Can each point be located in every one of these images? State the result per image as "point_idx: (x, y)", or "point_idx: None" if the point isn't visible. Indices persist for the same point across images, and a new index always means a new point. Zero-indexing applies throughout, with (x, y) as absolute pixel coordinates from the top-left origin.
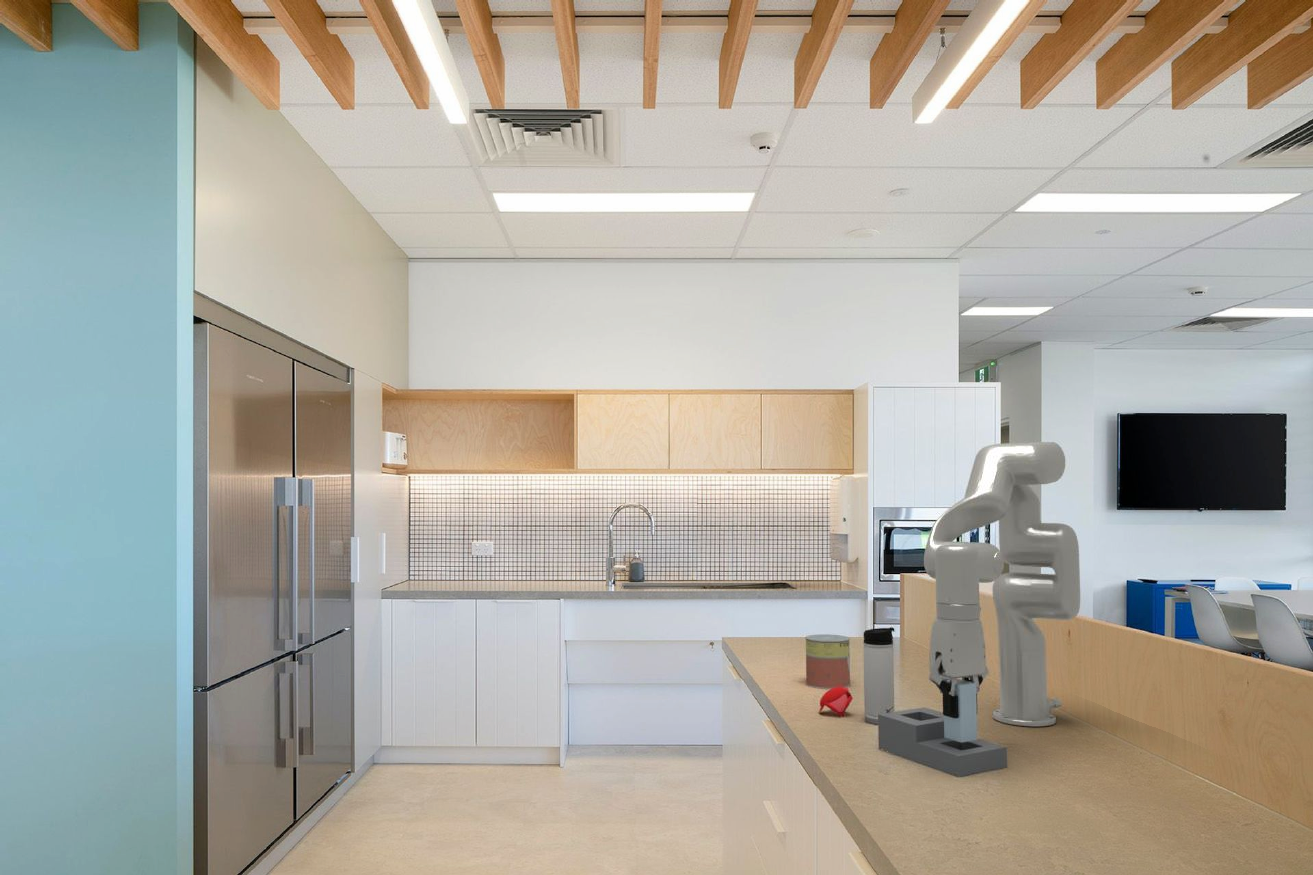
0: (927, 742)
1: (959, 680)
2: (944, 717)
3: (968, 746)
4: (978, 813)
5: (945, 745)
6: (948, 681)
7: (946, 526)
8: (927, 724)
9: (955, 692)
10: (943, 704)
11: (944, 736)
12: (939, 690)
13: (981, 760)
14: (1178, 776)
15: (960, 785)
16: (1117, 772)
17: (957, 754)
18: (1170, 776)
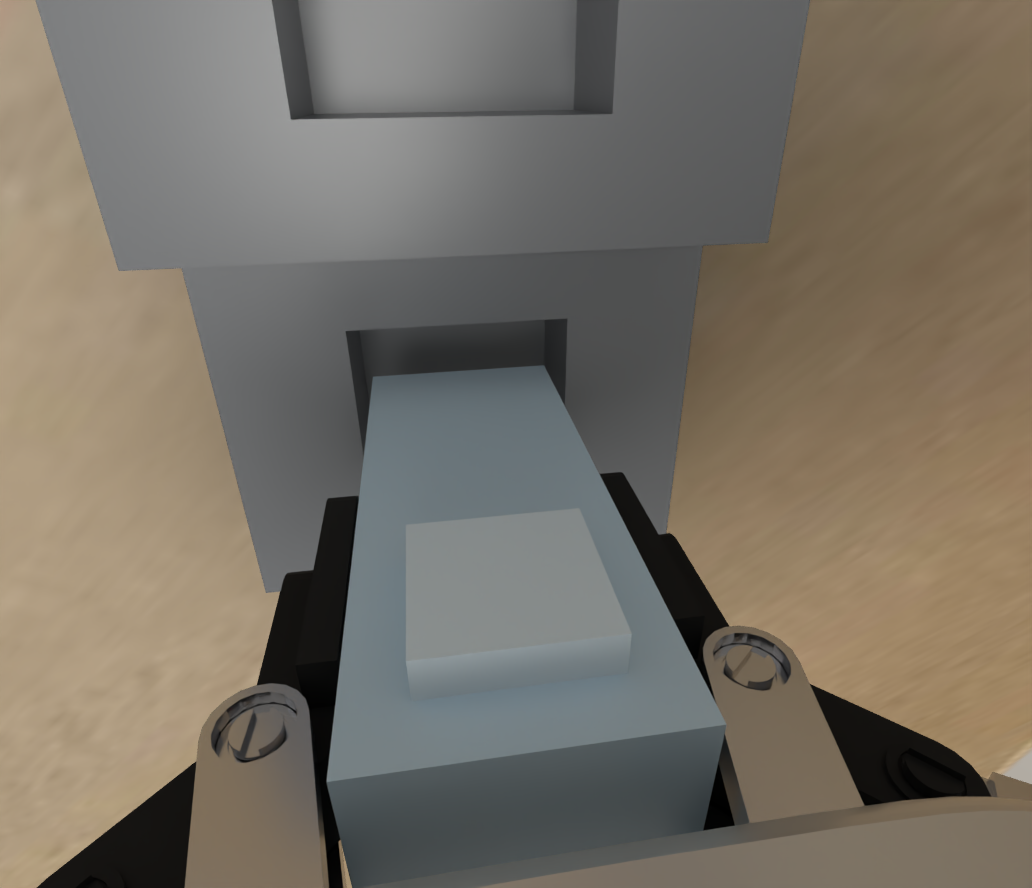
0: (270, 276)
1: (645, 786)
2: (367, 455)
3: (557, 377)
4: (75, 823)
5: (348, 397)
6: (412, 803)
7: None
8: (289, 262)
9: (340, 845)
10: (275, 616)
11: (373, 380)
12: (203, 725)
13: None
14: (991, 734)
15: (208, 608)
16: (903, 665)
17: (283, 568)
18: (974, 729)
